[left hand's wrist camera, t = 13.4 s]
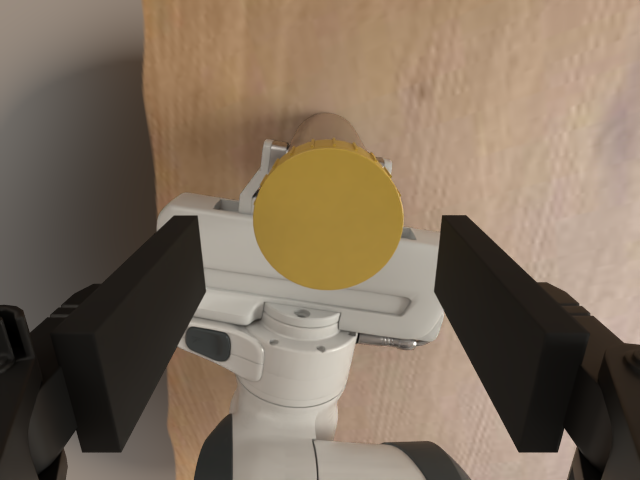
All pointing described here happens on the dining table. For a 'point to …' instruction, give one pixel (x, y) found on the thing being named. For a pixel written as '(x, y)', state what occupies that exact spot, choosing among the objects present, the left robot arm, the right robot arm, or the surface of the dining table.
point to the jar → (325, 130)
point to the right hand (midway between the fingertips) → (327, 149)
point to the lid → (328, 215)
